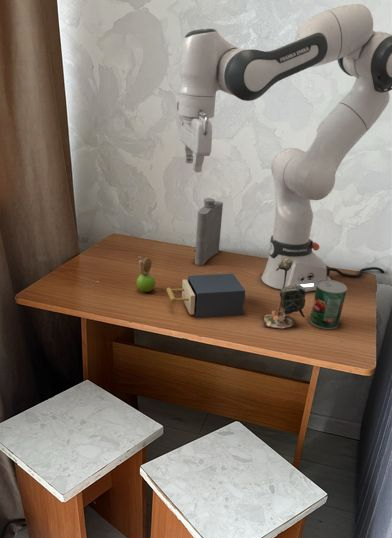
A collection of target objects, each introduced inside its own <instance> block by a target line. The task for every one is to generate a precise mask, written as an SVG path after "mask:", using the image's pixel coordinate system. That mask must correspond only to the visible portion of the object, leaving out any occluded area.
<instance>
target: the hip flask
mask: <svg viewBox="0 0 392 538" xmlns="http://www.w3.org/2000/svg"><path fill="white" fill-rule="evenodd" d="M203 203H204V204H203V205H204V206H202V207H201V208H200V209H199V210H198V211H197V221H196V239H195V256H194V264H195V265H196V266H205V263H206V262H207V261H208V260H209V259H210V258H212V257H213V256H215V255H216V254H219V252H220V242H221V233H222V232H221V231H222V230H221V229H222V220H223V219H222V218H223V210H224V209H223V207H224V202H222V201H218V200H217V201H216V200H215V199H214V198H212V197H211V198H209V197H206V198H204V199H203Z"/></svg>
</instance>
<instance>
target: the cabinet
mask: <svg viewBox="0 0 392 538" xmlns="http://www.w3.org/2000/svg"><path fill="white" fill-rule="evenodd" d="M187 281H188V283H189V285H190V287H191V284H192V286H193V288H194V290H195V292H196V293H197V304H196V307H194V314H193V315H194V316H195V318H196V319H198V318H199V319H200V318H215V317H227V316H241V315H244V307H245V300H246V299H245V298H246V288H244V286H243V284H241V282H240V281H239V279H238V278H237V276H236V275H235V273H217V274H195V275H194V274H193V275H187Z"/></svg>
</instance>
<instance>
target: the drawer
mask: <svg viewBox="0 0 392 538" xmlns="http://www.w3.org/2000/svg"><path fill="white" fill-rule="evenodd" d="M181 284H182V285H181V286H182V287H181V288H180V287H179V288H171V287H167V288H166V293H167V295H168V297H169V299H170V302H171V303H172V304H176V303H177V302H183V303H184V305H185V307H186V309H187V312H188V313H189V315H195V314H194V307H196V304H197V293H196V292H195V290H194V288H193V286H192V284H191V287H190V285H189V283H188V278H187V279H182V283H181ZM174 292H181V297H180V298H179V297H178V298H176V296H175V293H174Z"/></svg>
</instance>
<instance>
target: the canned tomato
mask: <svg viewBox="0 0 392 538" xmlns="http://www.w3.org/2000/svg"><path fill="white" fill-rule="evenodd" d="M347 291H348V286H347V285H345V284H344V283H343V282H340V281H337V280H335V279H334V280H333V279H331V280H321V281H319V282H318V283H317V287H316V290H315V293H314V297H313V301H312V306H311V307H312V308H311V313H310V317H309V322H310V323H311V325H312V326H315V327H316V328H319V329H323V330H334V329H336V328H338V327H339V325H340V324H339V323H340V320H341V315H342V311H343V307H344V304H345V303H344V302H345V299H346V294H347Z"/></svg>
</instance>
